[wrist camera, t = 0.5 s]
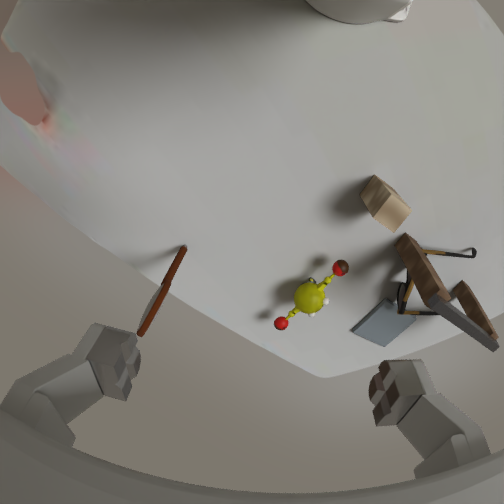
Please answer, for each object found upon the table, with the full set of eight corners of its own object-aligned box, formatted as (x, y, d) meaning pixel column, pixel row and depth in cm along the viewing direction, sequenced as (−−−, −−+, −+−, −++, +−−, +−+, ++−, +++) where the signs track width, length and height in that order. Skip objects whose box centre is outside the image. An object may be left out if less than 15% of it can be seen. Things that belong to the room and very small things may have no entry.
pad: (385, 298, 52) (386, 301, 51) (415, 315, 54) (416, 319, 53) (352, 329, 57) (353, 332, 57) (383, 343, 59) (384, 346, 58)
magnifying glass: (179, 264, 53) (138, 349, 36) (171, 259, 52) (127, 343, 36) (201, 231, 48) (160, 316, 32) (192, 225, 48) (147, 309, 31)
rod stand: (405, 232, 45) (440, 289, 32) (468, 285, 49) (498, 337, 36) (394, 245, 46) (424, 304, 34) (459, 295, 50) (486, 347, 38)
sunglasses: (448, 303, 51) (457, 319, 47) (388, 302, 52) (394, 320, 48) (474, 247, 44) (486, 262, 40) (410, 239, 45) (420, 256, 41)
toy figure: (290, 318, 57) (289, 344, 51) (267, 305, 56) (264, 331, 50) (354, 257, 48) (362, 281, 42) (331, 239, 47) (336, 263, 41)
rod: (435, 292, 32) (439, 300, 31) (496, 340, 37) (499, 346, 35) (427, 300, 33) (431, 308, 32) (490, 345, 37) (493, 352, 36)
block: (374, 174, 40) (391, 194, 33) (393, 188, 41) (412, 210, 34) (359, 194, 42) (372, 217, 36) (378, 208, 43) (393, 232, 36)
